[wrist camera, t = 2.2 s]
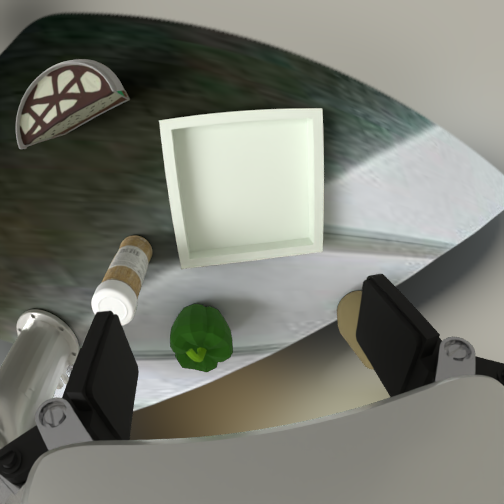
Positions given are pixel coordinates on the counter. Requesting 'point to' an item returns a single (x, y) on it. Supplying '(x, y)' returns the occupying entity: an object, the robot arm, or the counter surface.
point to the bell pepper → (201, 338)
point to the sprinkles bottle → (124, 279)
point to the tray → (245, 184)
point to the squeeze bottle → (351, 323)
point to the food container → (66, 100)
